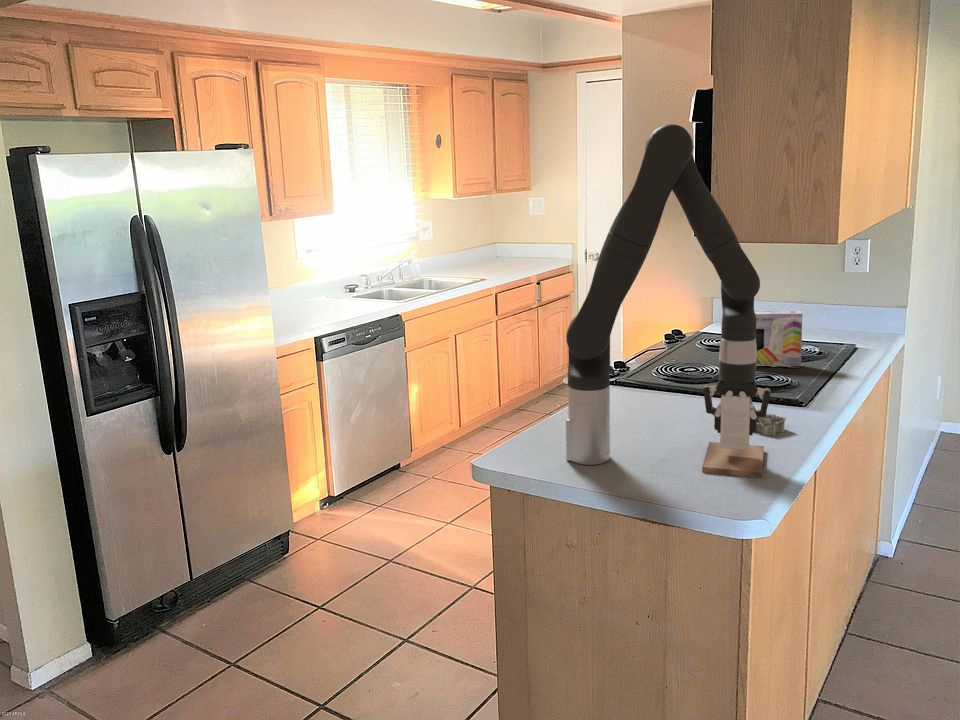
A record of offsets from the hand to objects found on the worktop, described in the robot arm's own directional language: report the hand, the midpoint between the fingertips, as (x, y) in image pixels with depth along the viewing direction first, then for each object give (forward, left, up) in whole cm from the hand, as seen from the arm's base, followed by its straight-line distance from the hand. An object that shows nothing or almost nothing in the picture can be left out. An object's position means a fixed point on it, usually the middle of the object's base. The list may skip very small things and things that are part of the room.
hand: (735, 432), depth 174 cm
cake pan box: (+5, +85, -7) cm, 85 cm away
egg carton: (+5, +24, -7) cm, 26 cm away
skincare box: (0, 0, -3) cm, 3 cm away
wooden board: (0, 0, -7) cm, 7 cm away
